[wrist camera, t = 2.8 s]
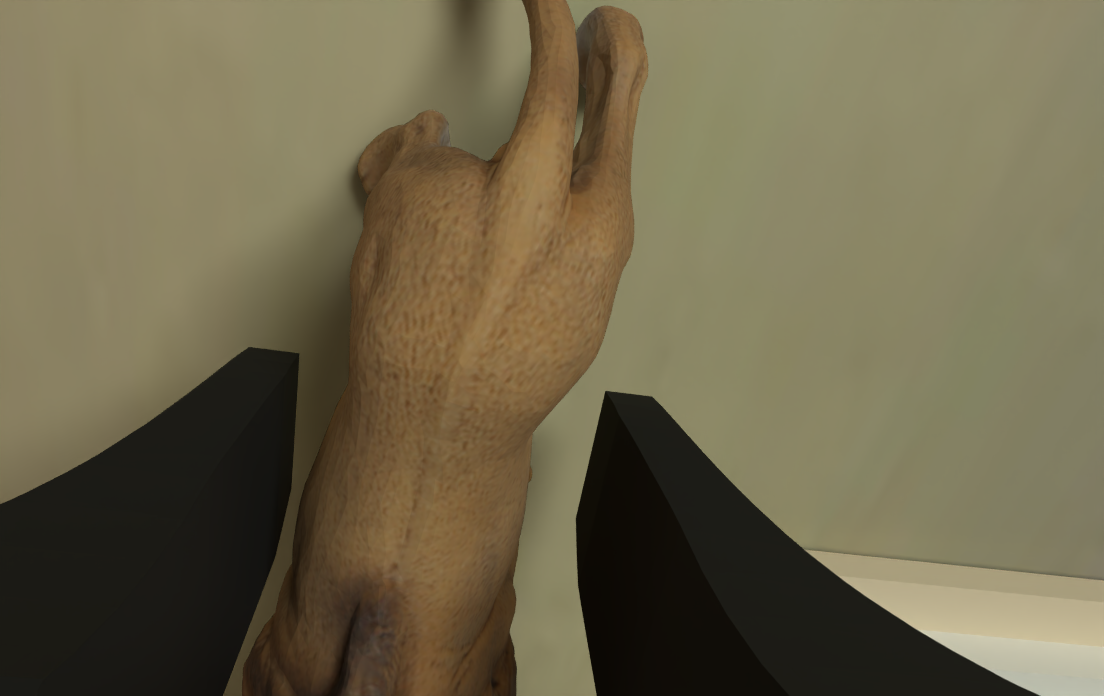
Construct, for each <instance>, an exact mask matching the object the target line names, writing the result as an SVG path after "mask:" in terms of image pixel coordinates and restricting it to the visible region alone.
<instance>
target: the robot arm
mask: <svg viewBox="0 0 1104 696" xmlns="http://www.w3.org/2000/svg"><path fill="white" fill-rule="evenodd" d="M298 370H299V353H293V352H284V351H276V350H268V349H260V348H252V347H248V348H247V349H246V350H244V351H243V352H241V353H240V354H239V355H237V356H236V357H235V358H233V359H232V360H230V361H229V362H228V363H227V364H225V365H224V366H223V367H221V368H220V369H219V370H218V371H216V372H215V373H214V374H213V375H211V376H210V377H209V378H207V379H206V380H205V381H204V382H202V383H201V384H200V385H198V386H197V387H196V388H195V389H193V390H192V391H191V392H189V393H188V394H187V395H185V396H184V397H183V398H181V399H180V400H179V401H177V402H176V403H174V404H173V405H172V406H170V407H169V408H167V409H166V410H165V411H163V412H162V413H161V414H159V415H158V416H156V417H155V418H154V419H152V420H151V421H150V422H148V423H147V424H145V425H144V426H142V427H141V428H139V429H137V430H136V431H134V432H133V433H131V434H130V435H128V436H126V437H125V438H123V439H122V440H120V441H119V442H117V443H116V444H114V445H112V446H111V447H109V448H108V449H106V450H105V451H103V452H102V453H100V454H98V455H97V456H95V457H93V458H91V459H90V460H88V461H86V462H84V463H83V464H81V465H79V466H77V467H75V468H73V469H72V470H70V471H68V472H66V473H64V474H62V475H60V476H58V477H56V478H54V479H52V480H50V481H48V482H46V483H45V484H43V485H41V486H39V487H37V488H35V489H33V490H31V491H29V492H27V493H25V494H22V495H20V496H18V497H16V498H14V499H12V500H10V501H7V502H5V503H2V504H0V696H223V694H224V691H225V688H226V686H227V683H228V680H229V678H230V675H231V673H232V670H233V667H234V665H235V662H236V659H237V657H238V654H239V652H240V649H241V646H242V644H243V641H244V638H245V636H246V633H247V631H248V628H249V625H250V623H251V620H252V617H253V615H254V612H255V610H256V607H257V604H258V602H259V599H260V596H261V594H262V591H263V588H264V586H265V583H266V580H267V578H268V575H269V572H270V569H271V567H272V564H273V561H274V559H275V555H276V551H277V547H278V543H279V539H280V535H281V531H282V527H283V522H284V518H285V514H286V509H287V505H288V501H289V496H290V492H291V484H292V468H293V452H294V435H295V419H296V402H297V386H298ZM576 542H577V570H578V588H579V594H580V600H581V606H582V612H583V618H584V624H585V630H586V636H587V642H588V648H589V654H590V659H591V665H592V671H593V676H594V682H595V688H596V694H597V696H1040V695H1038V694H1036V693H1033V692H1031V691H1029V690H1027V689H1025V688H1023V687H1020V686H1018V685H1016V684H1014V683H1012V682H1010V681H1008V680H1006V679H1004V678H1002V677H1000V676H999V675H997V674H995V673H993V672H991V671H989V670H987V669H986V668H984V667H982V666H980V665H978V664H976V663H975V662H973V661H971V660H969V659H967V658H965V657H963V656H962V655H960V654H958V653H956V652H954V651H952V650H951V649H949V648H947V647H945V646H944V645H942V644H940V643H939V642H937V641H935V640H934V639H932V638H930V637H928V636H927V635H925V634H923V633H922V632H920V631H918V630H917V629H915V628H913V627H912V626H910V625H909V624H907V623H906V622H904V621H903V620H901V619H900V618H898V617H897V616H895V615H894V614H892V613H890V612H889V611H887V610H886V609H884V608H883V607H881V606H880V605H878V604H877V603H875V602H874V601H872V600H871V599H869V598H868V597H866V596H865V595H863V594H862V593H861V592H859V591H858V590H856V589H855V588H853V587H852V586H851V585H849V584H848V583H846V582H845V581H844V580H842V579H841V578H840V577H839V576H837V575H836V574H835V573H833V572H832V571H831V570H830V569H828V568H827V567H826V566H824V565H823V564H822V563H821V562H819V561H818V560H817V559H815V558H814V557H813V556H812V555H810V554H809V553H808V552H806V551H805V550H804V549H803V548H802V547H800V546H799V545H798V544H797V543H796V542H794V541H793V540H792V539H791V538H790V537H789V536H787V535H786V534H785V533H784V532H783V531H782V530H781V529H780V528H779V527H777V526H776V525H775V524H774V523H773V522H772V521H771V520H770V519H769V518H768V517H767V516H766V515H765V514H763V513H762V512H761V511H760V510H759V509H758V508H757V507H756V506H755V505H754V504H753V503H752V502H751V501H750V500H749V499H748V498H747V497H746V496H745V495H744V494H743V493H742V492H741V491H740V490H738V489H737V488H736V486H735V485H734V484H733V483H732V482H731V481H730V480H729V479H728V478H727V477H726V476H725V475H724V474H723V473H722V472H721V471H720V470H719V469H718V468H717V467H716V466H715V465H714V464H713V462H712V461H711V460H710V459H709V458H708V457H707V456H706V455H705V454H704V453H703V452H702V450H701V449H700V448H699V447H698V446H697V445H696V444H695V443H694V442H693V441H692V439H691V438H690V437H689V436H688V435H687V434H686V433H685V432H684V430H683V429H682V428H681V427H680V426H679V425H678V424H677V423H676V422H675V420H674V419H673V418H672V417H671V416H670V415H669V414H668V413H667V412H666V410H665V409H664V408H663V407H662V406H661V405H660V404H659V403H658V402H657V401H656V400H655V399H654V398H653V397H651V396H643V395H634V394H626V393H618V392H610V391H605V395H604V400H603V404H602V408H601V413H600V417H599V421H598V426H597V430H596V434H595V438H594V443H593V447H592V451H591V456H590V460H589V464H588V469H587V473H586V477H585V481H584V486H583V490H582V494H581V499H580V503H579V507H578V512H577V516H576Z"/></svg>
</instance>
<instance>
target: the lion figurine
mask: <svg viewBox="0 0 1104 696" xmlns="http://www.w3.org/2000/svg"><path fill="white" fill-rule="evenodd" d="M522 1H523V4H524V7H525V10H526V13H527V16H528V21H529V28H530V40H531V71H530V76H529V81H528V86H527V89H526V93H525V96H524V99H523V103H522V106H521V109H520V113H519V116H518V120H517V123H516V126H515V129H514V131H513V133H512V136H511V138H510V141H509V142H508V143H506V144H504V145H502V146H501V147H500V148H499V149H498V151H497V152H496V154H495V155H494V157H493V158H492V159H491V160H489V161H485V160H482V159H479V158H478V157H476V156H474V155H472V154H470V153H468V152H466V151H463V150H461V149H459V148H455V147H451V144H450V138H449V126H448V122H447V119H446V118H445V117H444V116H443V114H441V113H439V112H436V111H434V110H427V111H424V112H422V113H420V114H418V115H417V116H416V117H415V118H414V119H412V120H411V121H409V122H408V123H406V124H405V125H398V126H395V127H392V128H389V129H387V130H385V131H384V132H382V133H381V134H379V135H378V136H377V137H376V138H375V139H374V140H373V141H372V142H371V143H370V144H369V145H368V146H367V147H366V149H365V150H364V152H363V154H362V155H361V157H360V159H359V163H358V166H357V167H358V173H359V177H360V180H361V182H362V185H363V188H364V190H365V192H366V193H367V194H368V195H369V196H368V198H367V202H366V205H365V208H364V218H363V232H362V234H361V237H360V240H359V243H358V245H357V248H356V251H355V254H354V257H353V261H352V265H351V271H350V293H351V300H352V310H351V322H350V348H349V380H348V385H347V387H346V389H345V391H344V393H343V395H342V396H341V398H340V400H339V402H338V404H337V407H336V409H335V412H334V414H333V417H332V419H331V422H330V424H329V427H328V429H327V432H326V434H325V437H324V439H323V442H322V444H321V447H320V450H319V452H318V455H317V457H316V459H315V462H314V464H313V467H312V469H311V471H310V474H309V476H308V479H307V481H306V483H305V487H304V490H303V494H302V497H301V501H300V505H299V511H298V516H297V522H296V528H295V535H294V542H293V559H292V565H291V566H290V568H289V570H288V571H287V573H286V576H285V578H284V581H283V584H282V587H281V590H280V593H279V598H278V603H277V608H276V612H275V613H274V615H273V616H272V618H271V619H270V620H269V621H268V622H267V623H266V625H265V626H264V628H263V630H262V632H261V633H260V635H259V636H258V638H257V639H256V641H255V644H254V646H253V648H252V650H251V652H250V654H249V657H248V658H247V660H246V662H245V664H244V667H243V682H242V696H516V675H517V666H516V661H515V657H514V654H515V653H514V646H513V643H512V639H511V636H510V627H511V623H512V620H513V617H514V613H515V606H516V595H515V589H514V587H513V577H514V572H515V567H516V561H517V556H518V546H519V537H520V534H521V529H522V524H523V519H524V514H525V506H526V497H527V488H528V482H529V481H530V480H531V478H532V469H531V466H530V459H531V448H532V433H533V432H534V430H535V429H536V428H537V426H538V425H539V424H540V423H541V422H542V421H543V420H544V419H545V417H546V416H547V415H548V414H549V413H550V412H551V411H552V410H553V408H554V407H555V406H556V405H557V404H558V403H559V402H560V401H561V399H562V398H563V397H564V396H565V395H566V394H567V393H568V392H569V390H570V389H571V388H572V387H573V386H574V385H575V383H576V382H577V381H578V380H579V379H580V378H581V376H582V375H583V374H584V373H585V372H586V371H587V369H588V368H589V366H590V365H591V363H592V362H593V361H594V359H595V358H596V356H597V353H598V351H599V349H600V346H601V344H602V342H603V339H604V336H605V332H606V329H607V325H608V322H609V318H610V315H611V311H612V306H613V302H614V298H615V294H616V291H617V287H618V284H619V280H620V277H621V274H622V271H623V268H624V267H625V265H626V263H627V261H628V259H629V258H630V255H631V251H632V247H633V240H634V216H633V208H632V199H631V161H632V147H633V135H634V129H635V123H636V117H637V111H638V106H639V100H640V95H641V92H642V90H643V87H644V84H645V82H646V79H647V77H648V59H647V53H646V49H645V46H644V44H643V33H642V29H641V26H640V24H639V22H638V20H637V19H636V18H635V17H634V16H633V15H632V14H630V13H628V12H626V11H624V10H622V9H619V8H615V7H612V6H601V7H598V8H596V9H594V10H593V11H592V12H591V13H589V14H588V15H587V17H586V18H585V19H584V20H583V22H582V23H581V25H580V27H579V28H578V30H577V33H576V32H575V24H574V21H573V18H572V15H571V12H570V9H569V6H568V4H567V2H566V0H522ZM578 83H580V84H581V85H582V86H583V87H584V88H585V89H586V101H585V111H584V119H583V127H582V132H581V135H580V138H579V141H578V143H577V145H576V147H575V149H574V150H573V147H574V135H575V125H576V115H577V105H578Z"/></svg>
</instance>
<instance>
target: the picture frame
mask: <svg viewBox="0 0 1104 696" xmlns="http://www.w3.org/2000/svg"><path fill="white" fill-rule="evenodd" d="M805 551H806V552H808V553H809V554H810V555H812V556H813V557H814V558H815V559H817V560H818V561H819V562H821V563H822V564H823V565H824V566H826V567H827V568H828V569H830V570H831V571H832V572H833V573H835V574H836V575H837V576H839V577H840V578H841V579H842V580H844V581H845V582H846V583H848V584H849V585H851V586H852V587H853V588H855V589H856V590H858V591H859V592H861V593H862V594H863V595H865V596H866V597H868V598H869V599H871V600H872V601H874V602H875V603H877V604H878V605H880V606H881V607H883V608H884V609H886V610H887V611H889V612H890V613H892V614H894V615H895V616H897V617H898V618H900V619H901V620H903V621H904V622H906V623H907V624H909V625H910V626H912V627H913V628H915V629H917V630H918V631H920V632H922V633H923V634H925V635H927V636H928V637H930V638H932V639H934V640H935V641H937V642H939V643H940V644H942V645H944V646H945V647H947V648H949V649H951V650H952V651H954V652H956V653H958V654H960V655H962V656H963V657H965V658H967V659H969V660H971V661H973V662H975V663H976V664H978V665H980V666H982V667H984V668H986V669H987V670H989V671H991V672H993V673H995V674H997V675H999V676H1000V677H1002V678H1004V679H1006V680H1008V681H1010V682H1012V683H1014V684H1016V685H1018V686H1020V687H1023V688H1025V689H1027V690H1029V691H1031V692H1033V693H1036V694H1038V695H1040V696H1104V581H1102V580H1092V579H1083V578H1073V577H1063V576H1054V575H1044V574H1034V573H1025V572H1015V571H1005V570H996V569H986V568H976V567H966V566H957V565H947V564H937V563H928V562H918V561H908V560H899V559H889V558H879V557H870V556H860V555H850V554H841V553H831V552H821V551H812V550H805Z"/></svg>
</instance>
